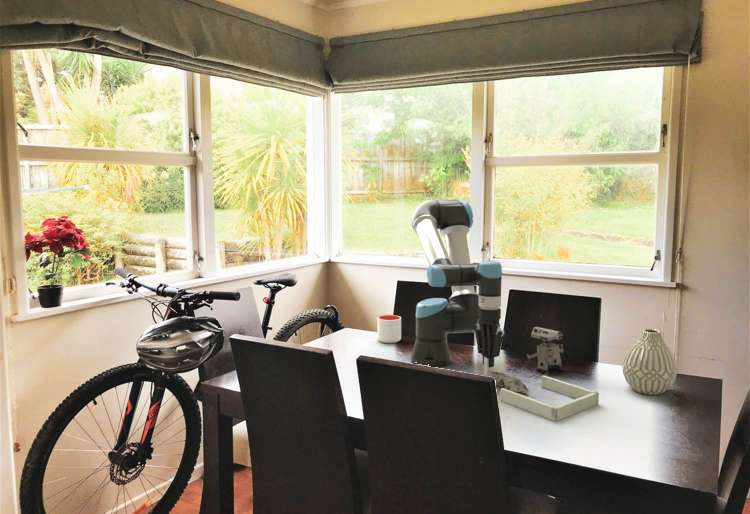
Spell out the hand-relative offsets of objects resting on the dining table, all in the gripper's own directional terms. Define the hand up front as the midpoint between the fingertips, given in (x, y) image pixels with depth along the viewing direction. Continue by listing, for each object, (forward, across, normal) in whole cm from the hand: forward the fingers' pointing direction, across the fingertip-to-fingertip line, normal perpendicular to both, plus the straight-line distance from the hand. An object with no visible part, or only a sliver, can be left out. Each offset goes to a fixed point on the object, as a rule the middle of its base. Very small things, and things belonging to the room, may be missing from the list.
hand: (488, 375), depth 205 cm
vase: (+2, +38, +34) cm, 51 cm away
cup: (+2, -60, +4) cm, 60 cm away
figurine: (+2, +4, +25) cm, 26 cm away
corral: (+2, +25, 0) cm, 25 cm away
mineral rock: (+2, +10, 0) cm, 10 cm away
